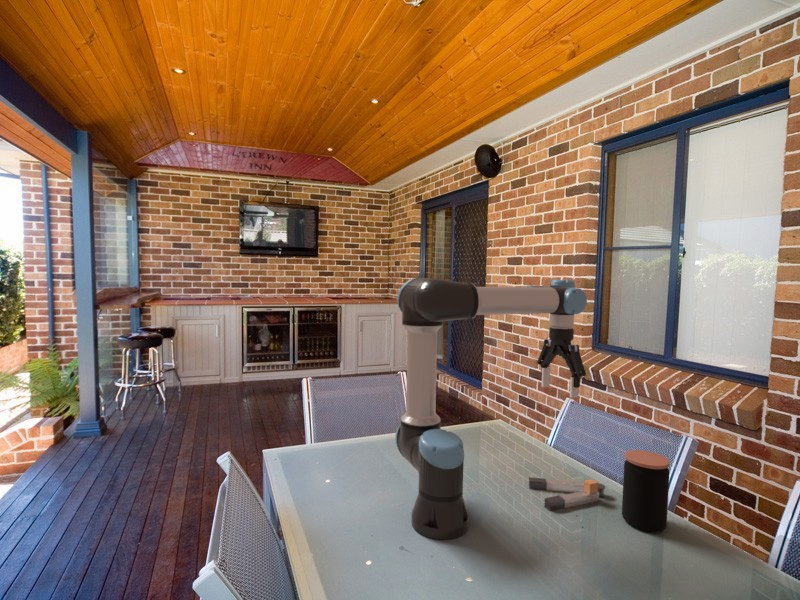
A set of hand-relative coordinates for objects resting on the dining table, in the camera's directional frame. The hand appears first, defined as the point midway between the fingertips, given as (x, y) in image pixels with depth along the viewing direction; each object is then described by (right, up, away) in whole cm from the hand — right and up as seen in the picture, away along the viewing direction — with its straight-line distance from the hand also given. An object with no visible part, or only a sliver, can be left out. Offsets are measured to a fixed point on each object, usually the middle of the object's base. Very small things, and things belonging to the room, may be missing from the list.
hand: (559, 391), depth 148 cm
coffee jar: (+13, -30, -26) cm, 42 cm away
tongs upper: (-3, -28, -8) cm, 30 cm away
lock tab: (+4, -26, -15) cm, 31 cm away
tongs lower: (-1, -29, -15) cm, 33 cm away
